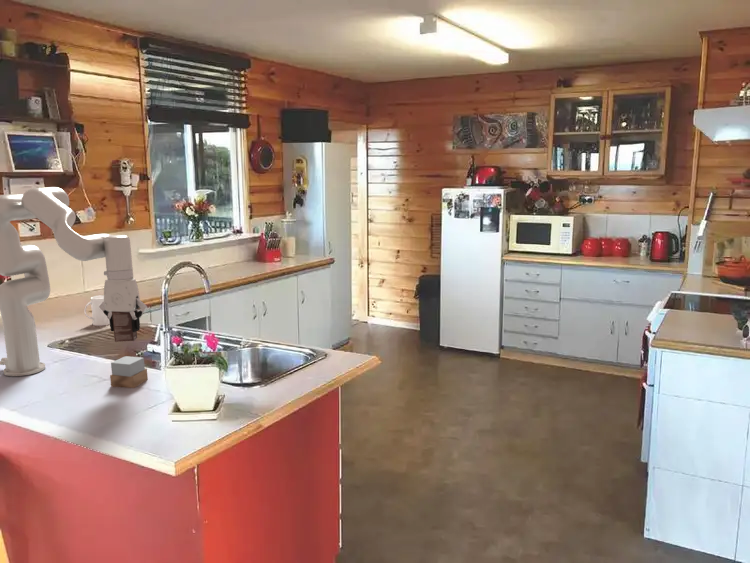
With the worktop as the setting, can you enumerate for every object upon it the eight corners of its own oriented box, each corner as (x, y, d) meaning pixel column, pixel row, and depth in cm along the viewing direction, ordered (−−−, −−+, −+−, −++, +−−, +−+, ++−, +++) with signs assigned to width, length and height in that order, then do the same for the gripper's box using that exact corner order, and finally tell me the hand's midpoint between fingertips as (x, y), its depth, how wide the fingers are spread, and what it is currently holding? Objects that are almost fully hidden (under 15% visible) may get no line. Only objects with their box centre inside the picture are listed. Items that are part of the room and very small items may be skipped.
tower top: (112, 374, 200) (110, 362, 199) (126, 367, 206) (125, 356, 206) (130, 376, 198) (129, 364, 197) (144, 369, 204) (143, 357, 204)
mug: (89, 328, 272) (86, 301, 269) (81, 324, 278) (79, 298, 275) (116, 323, 280) (114, 296, 277) (108, 319, 286) (106, 294, 283)
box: (137, 337, 203) (134, 301, 200) (133, 341, 198) (130, 304, 196) (118, 338, 202) (114, 301, 200) (113, 342, 198) (110, 305, 195)
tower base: (111, 387, 200) (110, 375, 199) (125, 378, 208) (124, 367, 207) (134, 388, 199) (133, 376, 198) (147, 380, 206) (146, 368, 205)
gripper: (87, 276, 194) (93, 332, 198) (139, 277, 191) (144, 334, 195) (102, 272, 202) (107, 326, 205) (152, 273, 198) (156, 328, 202)
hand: (125, 330), depth 200 cm, fingers closed on box, 6 cm apart
